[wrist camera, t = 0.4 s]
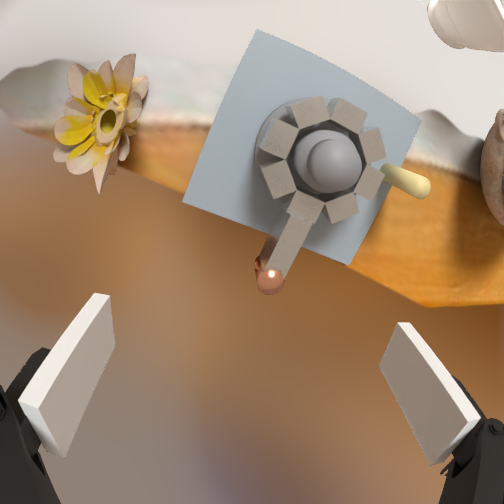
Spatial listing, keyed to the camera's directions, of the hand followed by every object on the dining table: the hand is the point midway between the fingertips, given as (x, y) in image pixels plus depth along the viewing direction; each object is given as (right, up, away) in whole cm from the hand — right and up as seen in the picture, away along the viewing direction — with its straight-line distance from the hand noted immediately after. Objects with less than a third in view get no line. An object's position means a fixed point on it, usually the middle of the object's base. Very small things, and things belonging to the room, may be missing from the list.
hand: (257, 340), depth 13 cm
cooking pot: (+40, +19, +24) cm, 50 cm away
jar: (+28, +37, +14) cm, 48 cm away
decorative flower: (-17, +20, +18) cm, 32 cm away
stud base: (+6, +16, +22) cm, 28 cm away
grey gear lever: (+5, +10, +20) cm, 23 cm away
